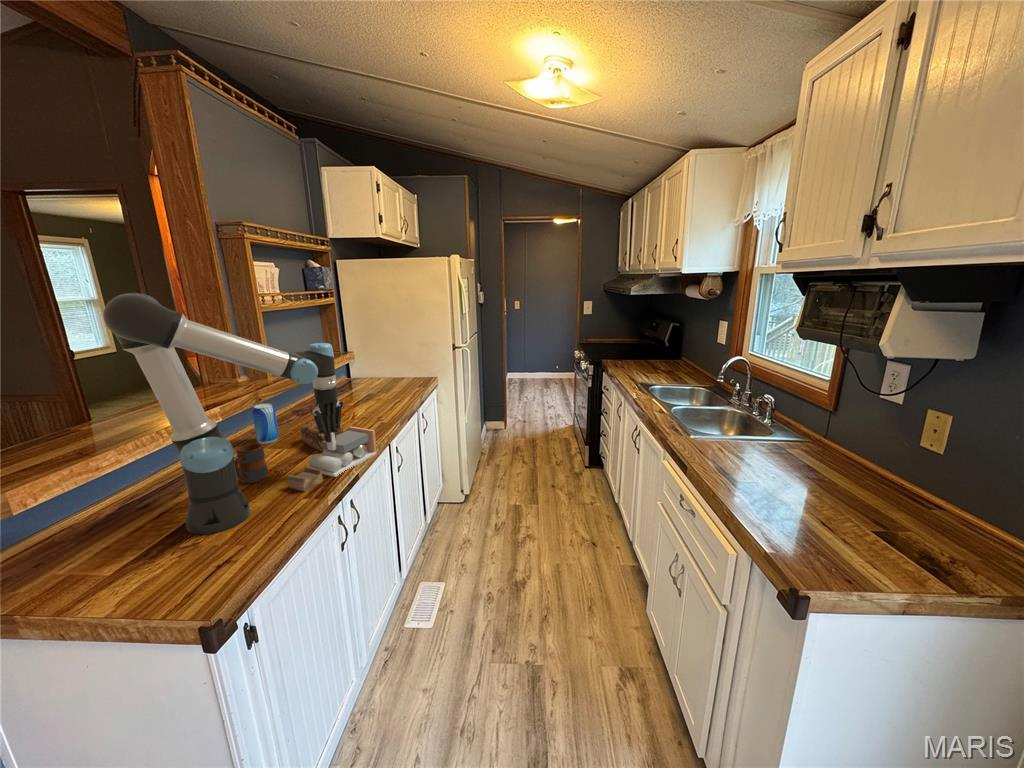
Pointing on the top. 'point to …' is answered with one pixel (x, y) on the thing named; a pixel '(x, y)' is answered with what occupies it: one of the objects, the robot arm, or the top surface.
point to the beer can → (265, 423)
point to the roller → (359, 451)
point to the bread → (315, 435)
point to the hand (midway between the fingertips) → (332, 449)
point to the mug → (251, 463)
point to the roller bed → (343, 456)
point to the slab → (348, 441)
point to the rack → (305, 479)
